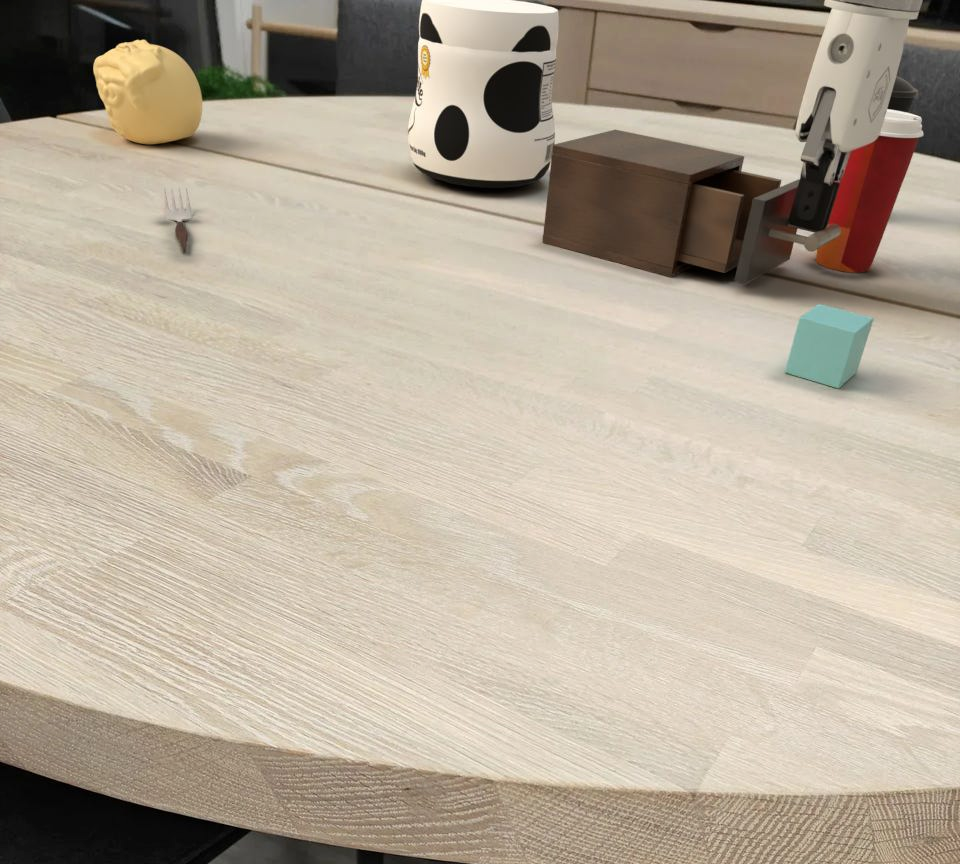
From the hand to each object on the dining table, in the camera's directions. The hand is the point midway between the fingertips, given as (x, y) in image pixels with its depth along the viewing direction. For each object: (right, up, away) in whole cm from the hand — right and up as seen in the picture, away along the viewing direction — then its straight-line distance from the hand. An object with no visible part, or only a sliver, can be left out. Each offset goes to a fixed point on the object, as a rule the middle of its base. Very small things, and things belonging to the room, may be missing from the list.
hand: (806, 226), depth 92 cm
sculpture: (-71, +24, +33) cm, 82 cm away
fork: (-59, +1, +4) cm, 59 cm away
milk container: (-30, +17, +29) cm, 45 cm away
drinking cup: (+15, +14, +29) cm, 35 cm away
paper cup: (+7, +1, +11) cm, 14 cm away
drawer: (-6, -1, +6) cm, 8 cm away
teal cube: (-3, -17, -14) cm, 22 cm away
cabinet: (-14, +2, +11) cm, 18 cm away
